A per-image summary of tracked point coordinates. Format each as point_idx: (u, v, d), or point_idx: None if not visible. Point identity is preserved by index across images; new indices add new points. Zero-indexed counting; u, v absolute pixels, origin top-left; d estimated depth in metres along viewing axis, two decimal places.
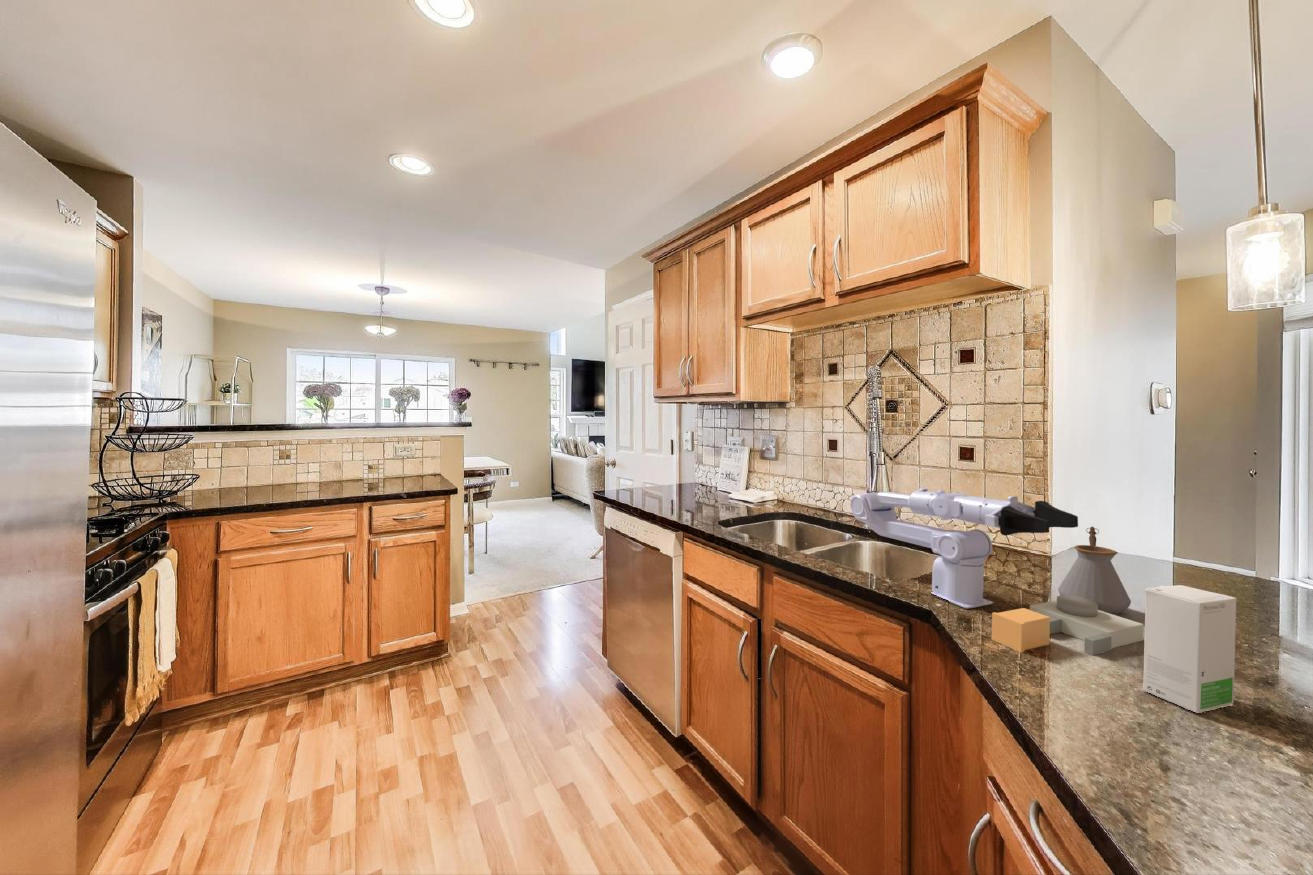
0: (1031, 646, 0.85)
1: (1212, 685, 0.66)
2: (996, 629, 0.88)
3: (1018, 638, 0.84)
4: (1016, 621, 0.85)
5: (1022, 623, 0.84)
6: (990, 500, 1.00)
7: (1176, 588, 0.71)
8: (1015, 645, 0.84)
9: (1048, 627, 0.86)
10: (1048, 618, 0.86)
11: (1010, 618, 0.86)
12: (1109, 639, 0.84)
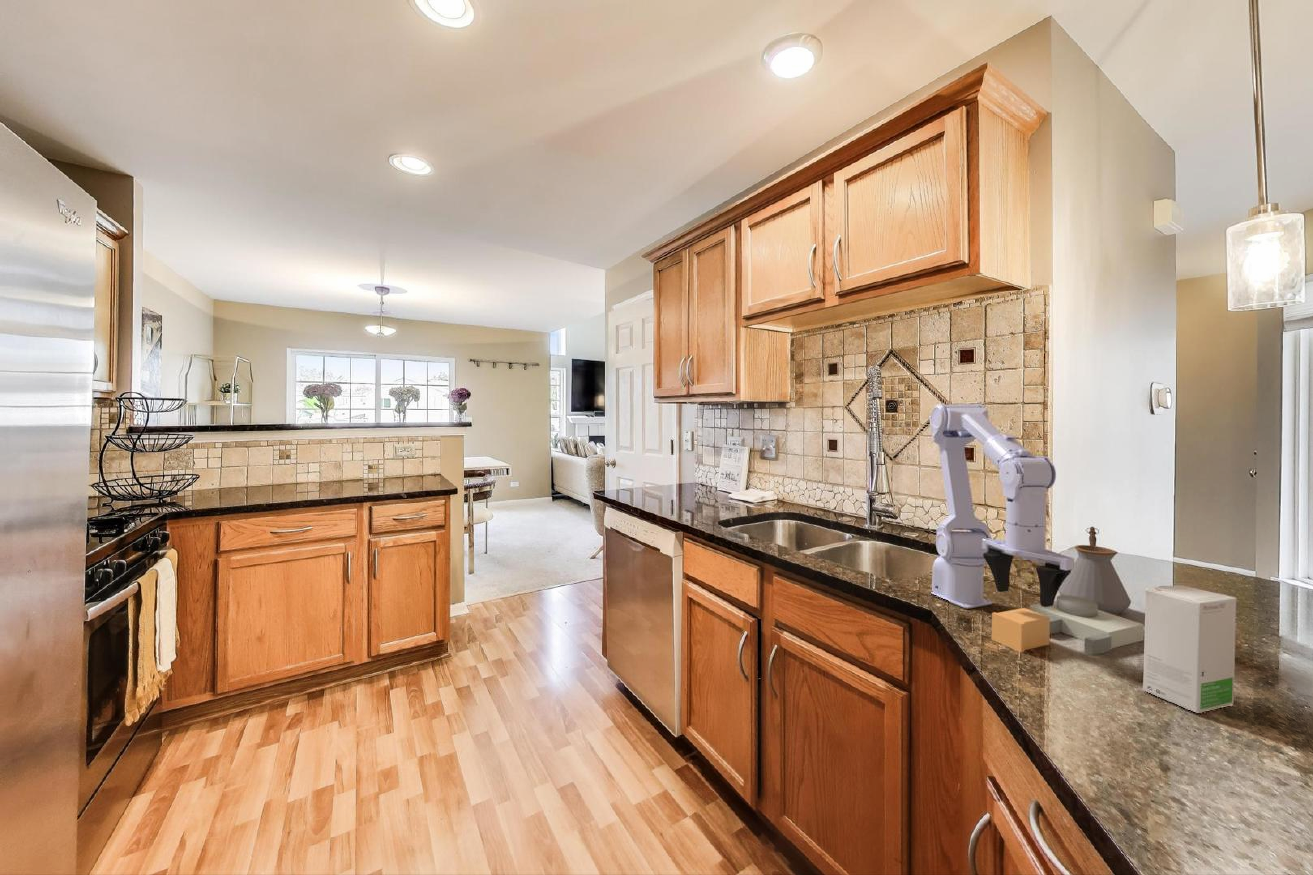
0: (1031, 646, 0.85)
1: (1212, 685, 0.66)
2: (996, 629, 0.88)
3: (1018, 638, 0.84)
4: (1016, 621, 0.85)
5: (1022, 623, 0.84)
6: (1010, 528, 0.86)
7: (1176, 588, 0.71)
8: (1015, 645, 0.84)
9: (1048, 627, 0.86)
10: (1048, 618, 0.86)
11: (1010, 618, 0.86)
12: (1109, 639, 0.84)
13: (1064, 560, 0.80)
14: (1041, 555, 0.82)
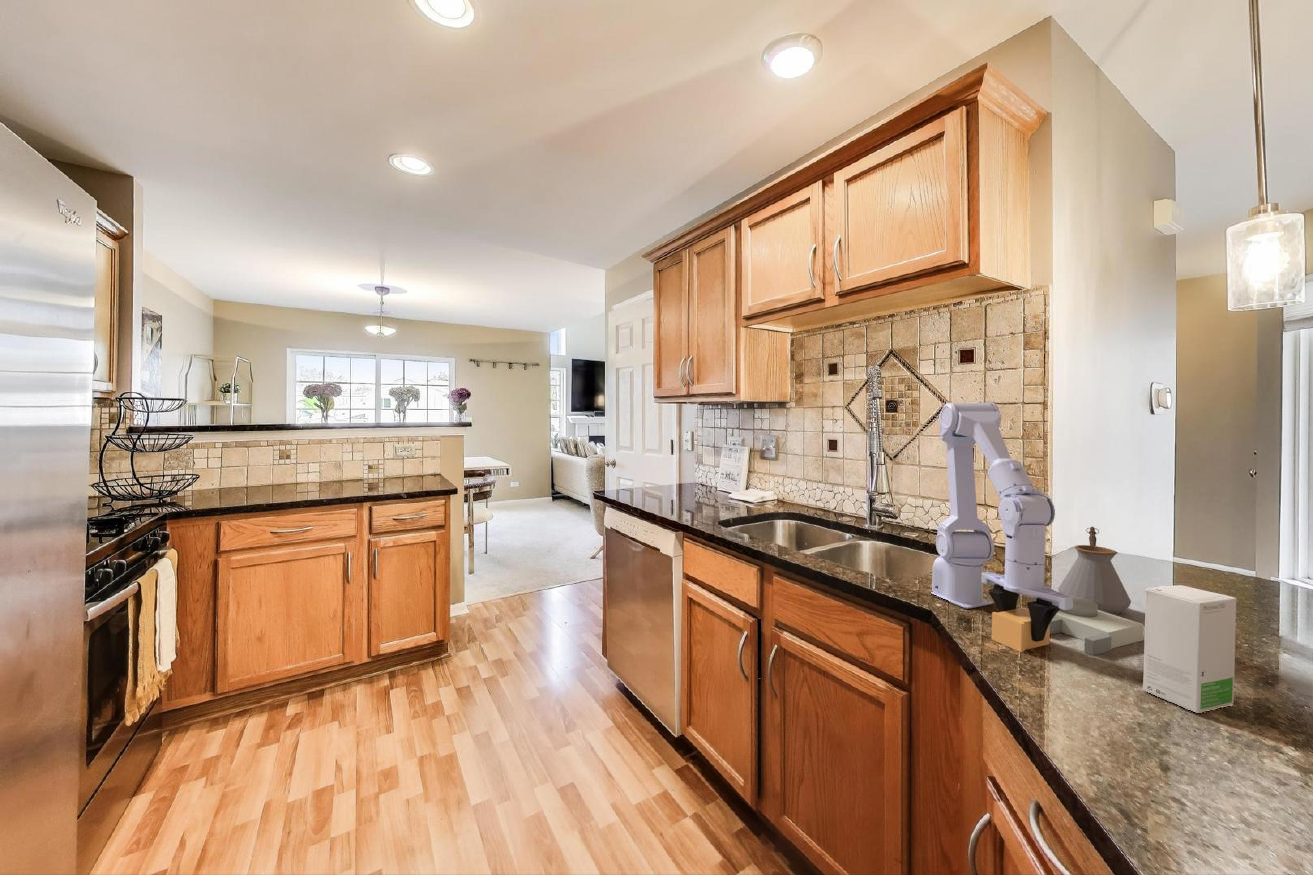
0: (1031, 646, 0.85)
1: (1212, 685, 0.66)
2: (996, 629, 0.88)
3: (1018, 638, 0.84)
4: (1016, 621, 0.85)
5: (1022, 623, 0.84)
6: (1009, 564, 0.87)
7: (1176, 588, 0.71)
8: (1015, 645, 0.84)
9: (1048, 627, 0.86)
10: None
11: (1010, 618, 0.86)
12: (1109, 639, 0.84)
13: (1063, 600, 0.80)
14: (1040, 593, 0.83)
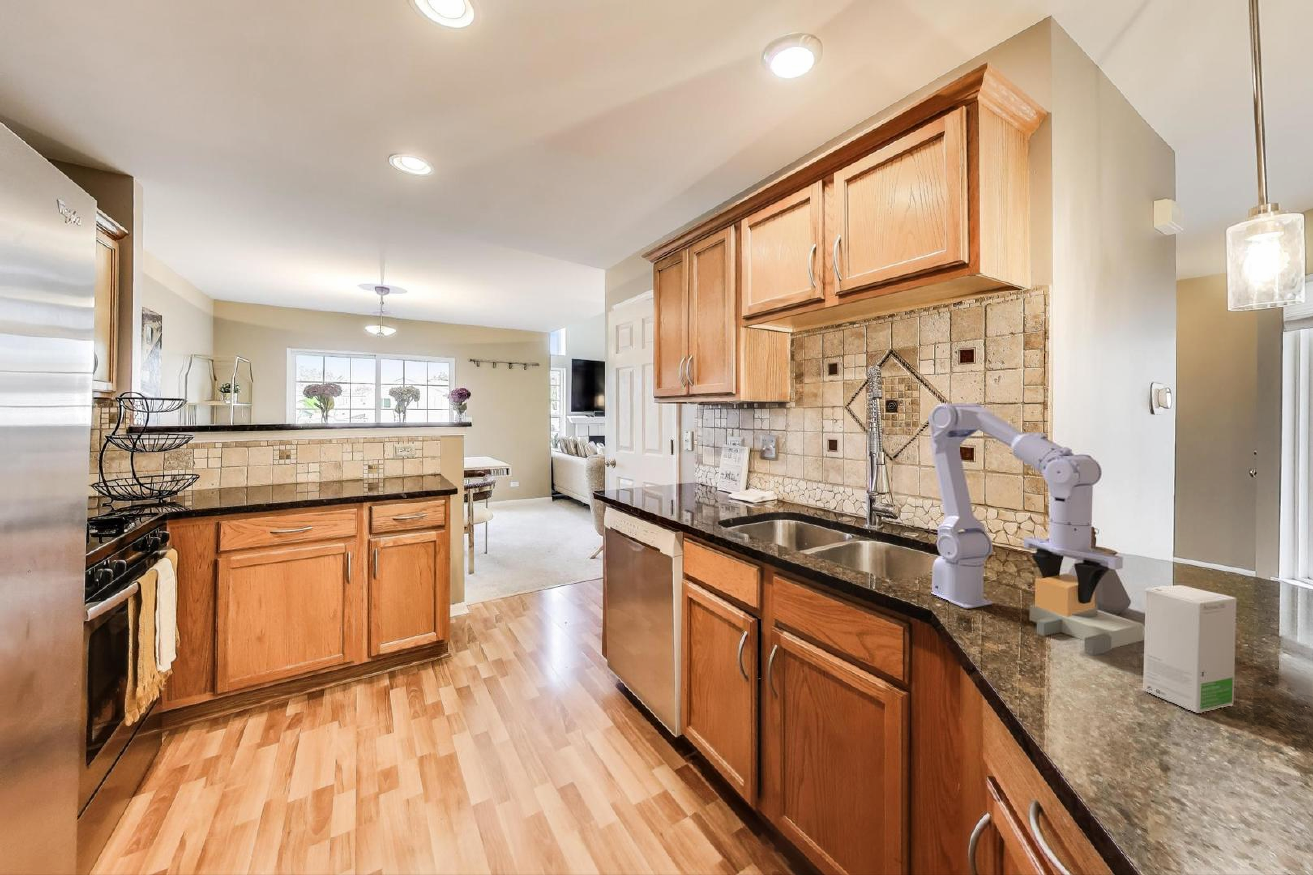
0: (1077, 610, 0.84)
1: (1212, 685, 0.66)
2: (1040, 595, 0.87)
3: (1064, 603, 0.83)
4: (1061, 586, 0.84)
5: (1068, 587, 0.83)
6: (1054, 526, 0.86)
7: (1176, 588, 0.71)
8: (1061, 610, 0.84)
9: None
10: None
11: (1055, 583, 0.85)
12: (1109, 639, 0.84)
13: (1113, 559, 0.79)
14: (1088, 554, 0.82)
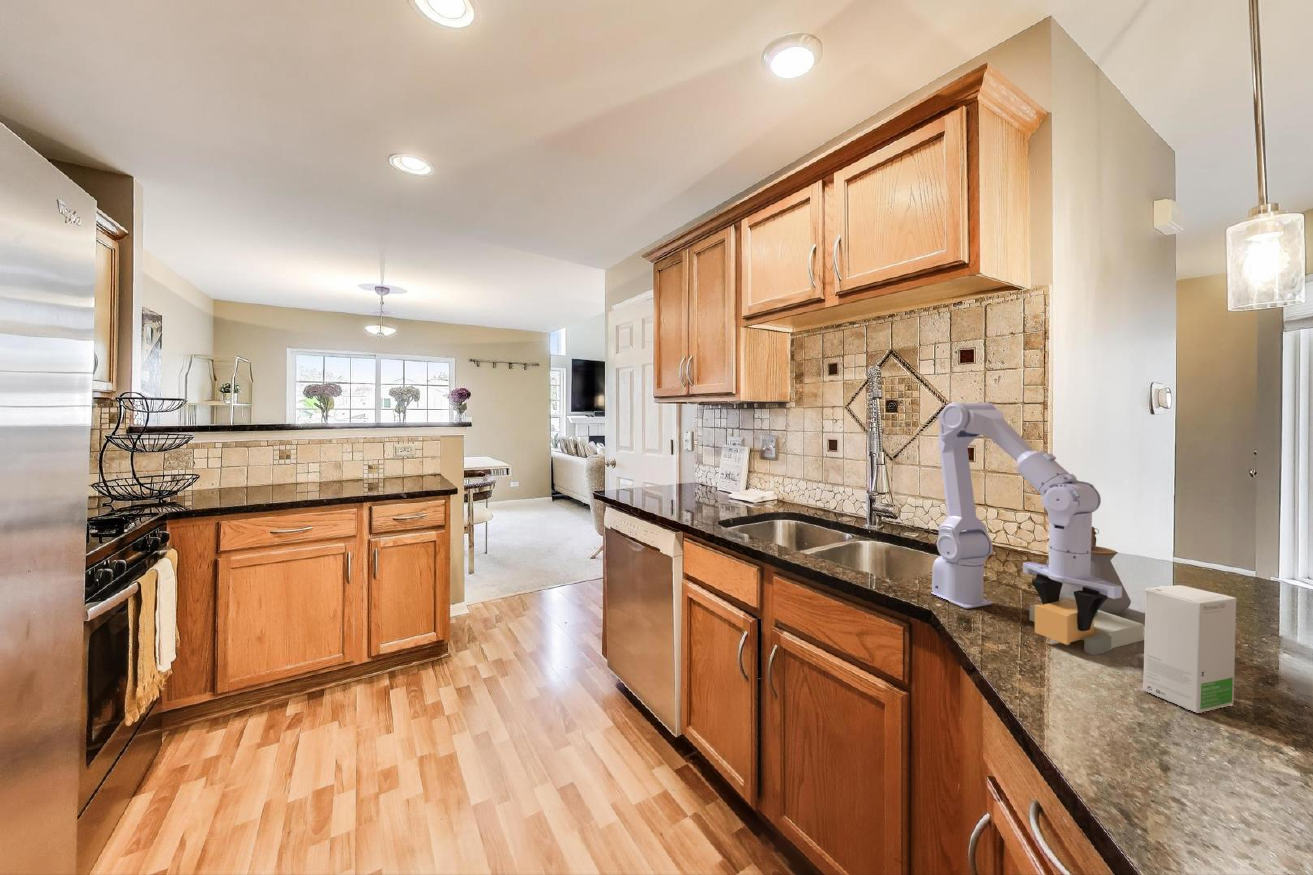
0: (1076, 638, 0.84)
1: (1212, 685, 0.66)
2: (1039, 622, 0.87)
3: (1063, 630, 0.83)
4: (1061, 613, 0.84)
5: (1067, 615, 0.83)
6: (1054, 553, 0.86)
7: (1176, 588, 0.71)
8: (1060, 637, 0.84)
9: None
10: None
11: (1054, 610, 0.85)
12: (1109, 639, 0.84)
13: (1112, 588, 0.79)
14: (1087, 582, 0.82)
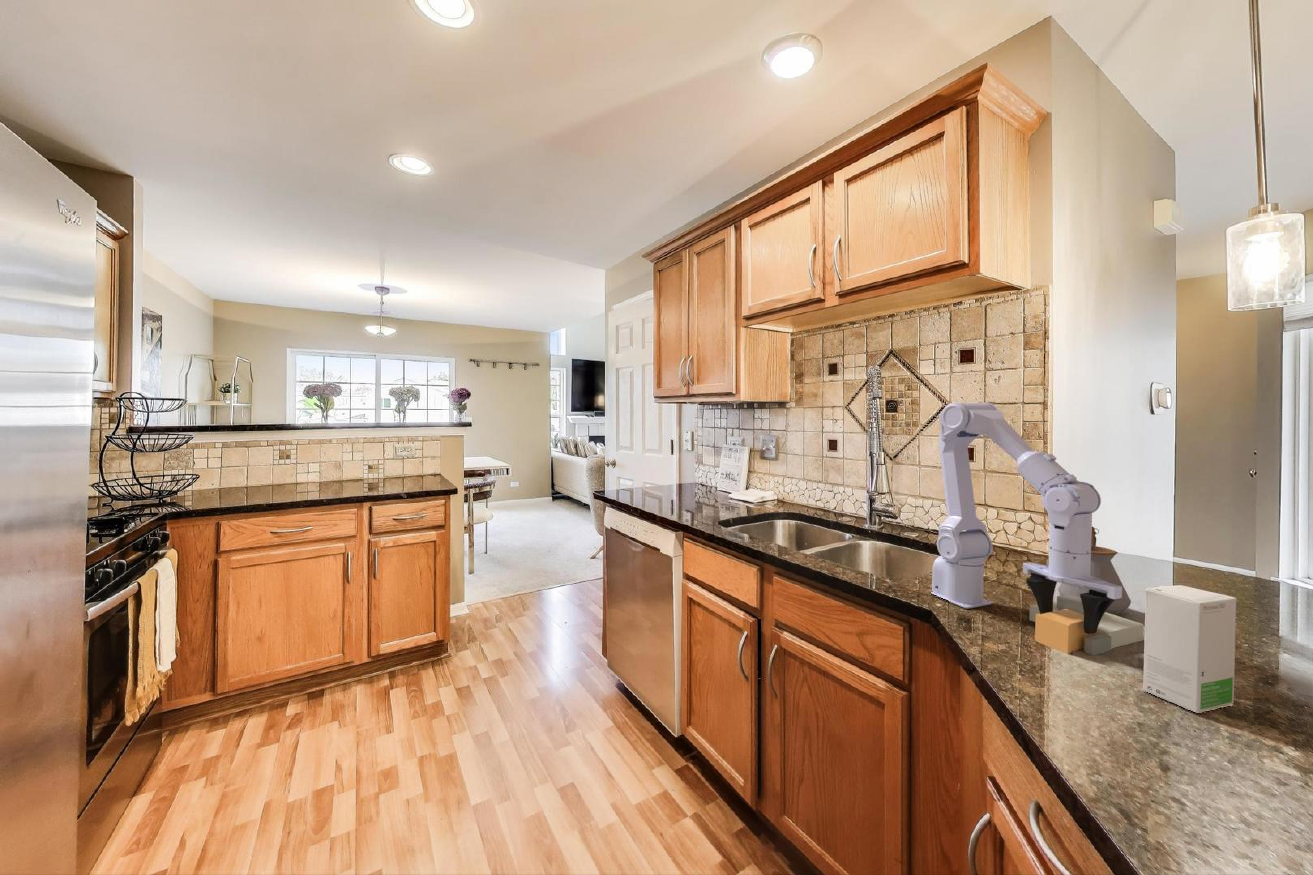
0: (1076, 647, 0.84)
1: (1212, 685, 0.66)
2: (1040, 630, 0.87)
3: (1064, 639, 0.83)
4: (1062, 622, 0.84)
5: (1068, 624, 0.83)
6: (1054, 554, 0.86)
7: (1176, 588, 0.71)
8: (1061, 647, 0.84)
9: None
10: None
11: (1055, 619, 0.85)
12: (1109, 639, 0.84)
13: (1112, 589, 0.79)
14: (1087, 583, 0.82)
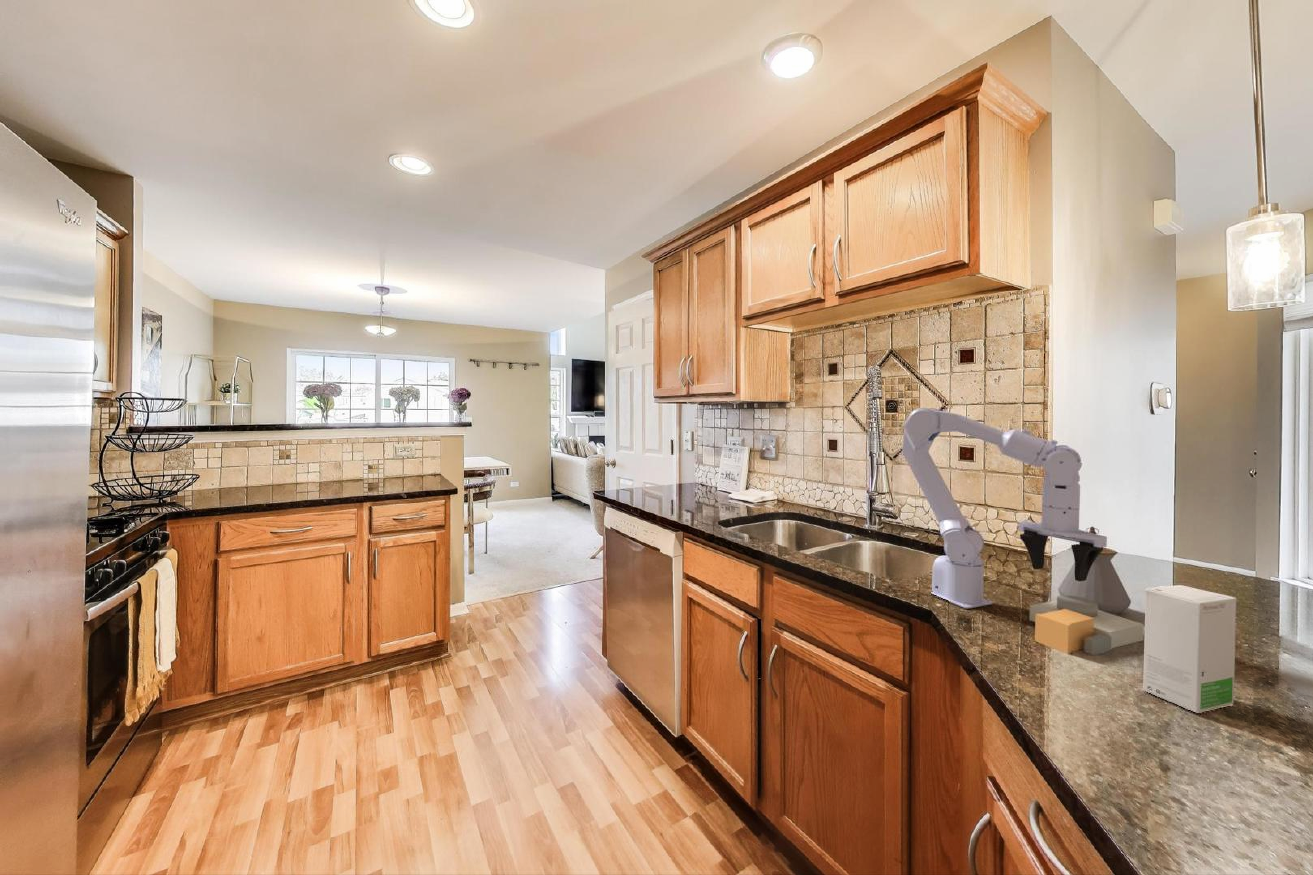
0: (1076, 647, 0.84)
1: (1212, 685, 0.66)
2: (1040, 630, 0.87)
3: (1064, 639, 0.83)
4: (1062, 622, 0.84)
5: (1068, 624, 0.83)
6: (1046, 510, 0.95)
7: (1176, 588, 0.71)
8: (1061, 646, 0.84)
9: (1092, 628, 0.86)
10: (1092, 619, 0.86)
11: (1055, 619, 0.85)
12: (1109, 639, 0.84)
13: (1098, 538, 0.89)
14: (1076, 534, 0.91)
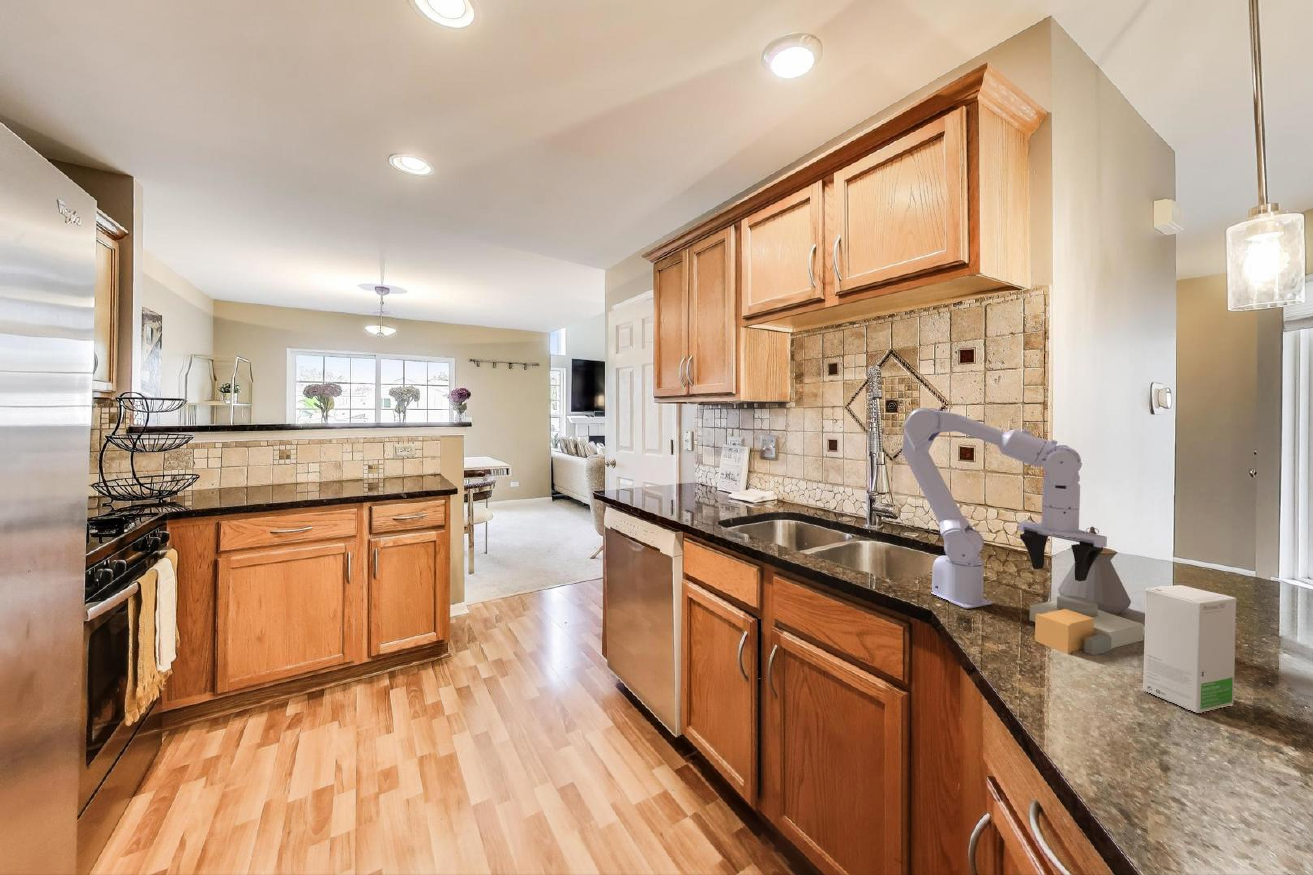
0: (1076, 647, 0.84)
1: (1212, 685, 0.66)
2: (1040, 630, 0.87)
3: (1064, 639, 0.83)
4: (1062, 622, 0.84)
5: (1068, 624, 0.83)
6: (1046, 510, 0.95)
7: (1176, 588, 0.71)
8: (1061, 647, 0.84)
9: (1092, 628, 0.86)
10: (1092, 619, 0.86)
11: (1055, 619, 0.85)
12: (1109, 639, 0.84)
13: (1098, 538, 0.89)
14: (1076, 534, 0.91)
